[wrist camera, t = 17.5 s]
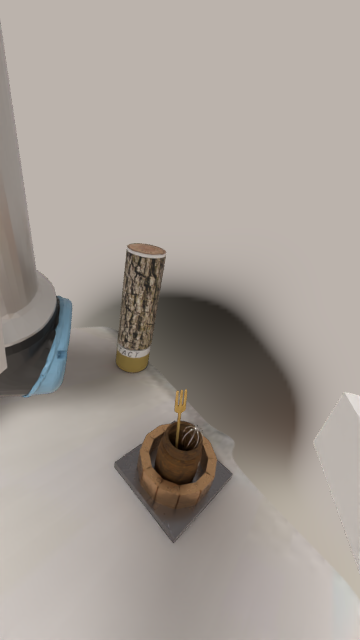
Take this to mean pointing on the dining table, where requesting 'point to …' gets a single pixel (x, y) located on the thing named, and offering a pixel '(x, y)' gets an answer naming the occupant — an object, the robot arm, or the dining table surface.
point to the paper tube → (139, 305)
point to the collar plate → (160, 512)
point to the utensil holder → (179, 449)
